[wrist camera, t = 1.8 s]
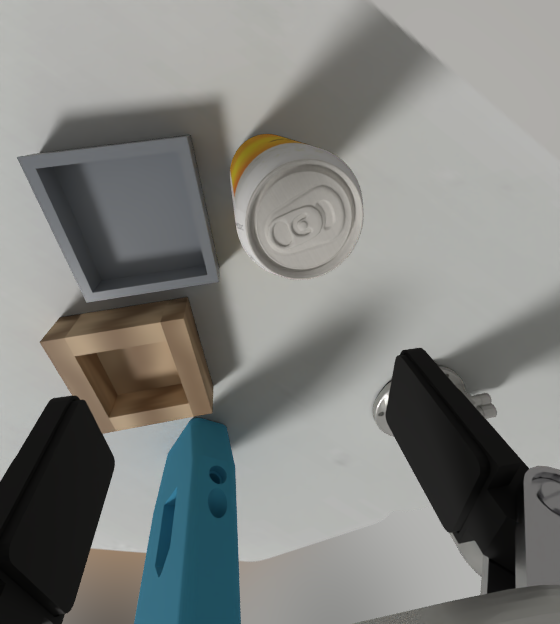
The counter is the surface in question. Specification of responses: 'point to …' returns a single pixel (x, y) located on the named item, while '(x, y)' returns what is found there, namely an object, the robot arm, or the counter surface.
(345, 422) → the counter surface
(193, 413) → the shallow wooden box
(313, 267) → the beer can
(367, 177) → the counter surface
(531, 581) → the robot arm
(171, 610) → the block
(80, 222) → the tray
